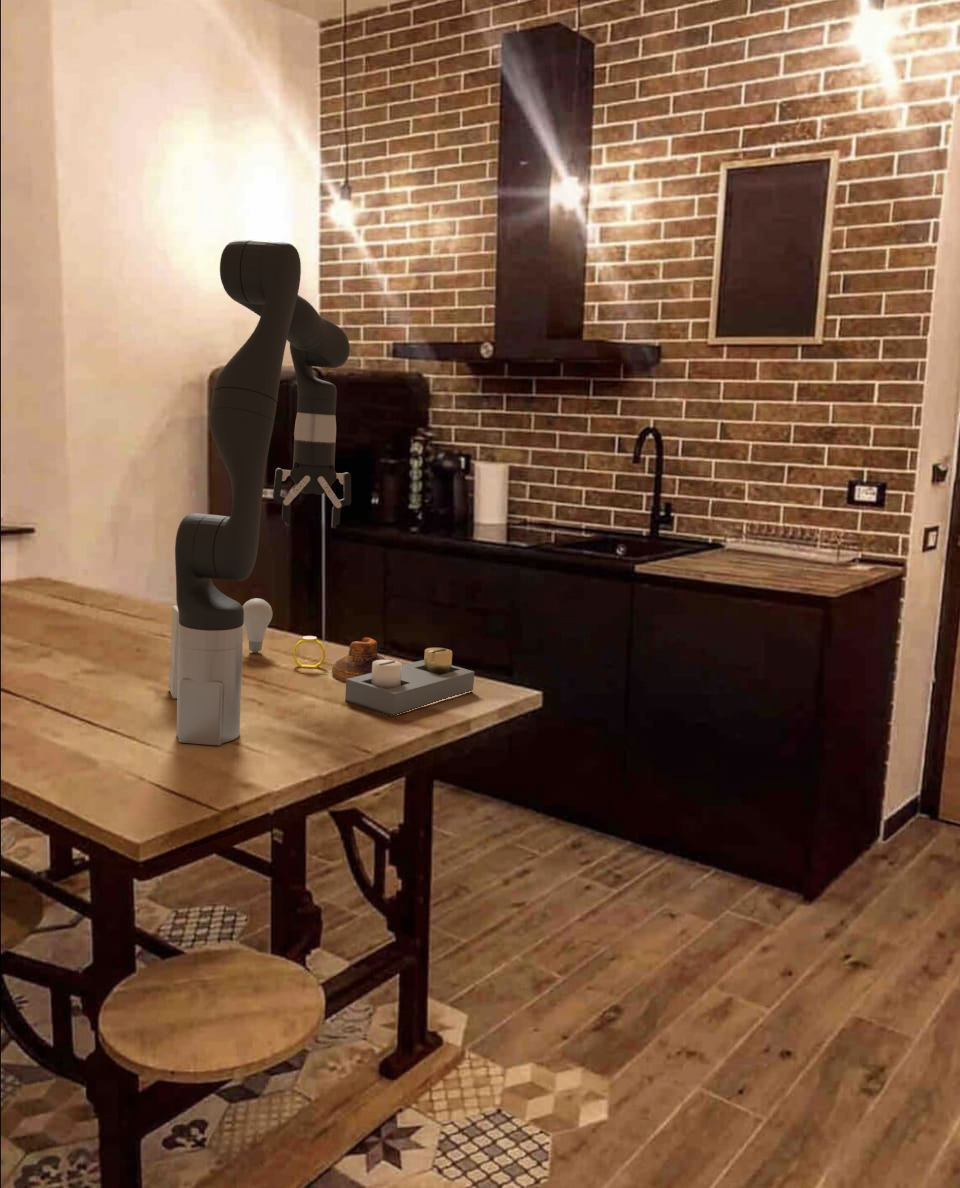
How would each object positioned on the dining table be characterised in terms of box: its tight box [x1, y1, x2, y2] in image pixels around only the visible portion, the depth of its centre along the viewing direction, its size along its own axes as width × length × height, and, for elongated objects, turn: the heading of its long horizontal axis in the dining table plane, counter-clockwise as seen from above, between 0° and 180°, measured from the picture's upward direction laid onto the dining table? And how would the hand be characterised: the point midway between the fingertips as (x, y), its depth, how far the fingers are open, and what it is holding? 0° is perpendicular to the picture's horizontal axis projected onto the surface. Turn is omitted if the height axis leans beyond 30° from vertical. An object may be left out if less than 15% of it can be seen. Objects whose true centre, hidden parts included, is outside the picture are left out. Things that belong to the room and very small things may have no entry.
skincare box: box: [168, 605, 179, 699], centre depth 170 cm, size 8×6×15 cm
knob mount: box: [344, 659, 475, 717], centre depth 179 cm, size 22×11×4 cm, turn 143°
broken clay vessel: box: [331, 637, 387, 683], centre depth 189 cm, size 12×12×7 cm
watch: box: [292, 635, 326, 669], centre depth 192 cm, size 6×3×6 cm, turn 96°
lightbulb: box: [242, 597, 274, 654], centre depth 199 cm, size 6×6×11 cm
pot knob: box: [371, 659, 403, 689], centre depth 172 cm, size 5×5×4 cm
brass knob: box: [423, 647, 453, 675], centre depth 184 cm, size 5×5×4 cm
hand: (310, 526), depth 188 cm, fingers open, 8 cm apart
